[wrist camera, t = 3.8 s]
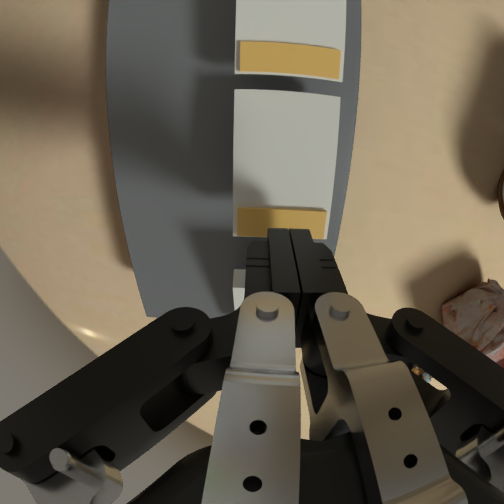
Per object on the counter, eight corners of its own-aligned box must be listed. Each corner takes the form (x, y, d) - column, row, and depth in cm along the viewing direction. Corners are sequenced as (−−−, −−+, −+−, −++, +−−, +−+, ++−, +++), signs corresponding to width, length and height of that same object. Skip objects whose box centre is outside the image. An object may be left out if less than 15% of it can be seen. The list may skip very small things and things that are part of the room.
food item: (429, 302, 23) (470, 382, 15) (488, 262, 21) (539, 329, 12) (444, 357, 29) (468, 416, 21) (489, 326, 26) (518, 381, 18)
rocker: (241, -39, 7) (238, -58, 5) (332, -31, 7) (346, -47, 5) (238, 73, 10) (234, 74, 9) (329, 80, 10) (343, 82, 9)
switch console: (136, -9, 10) (107, -26, 7) (338, -13, 10) (359, -35, 7) (157, 281, 22) (142, 316, 19) (310, 286, 22) (317, 323, 19)
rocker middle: (238, 93, 11) (234, 88, 9) (327, 99, 11) (341, 96, 9) (236, 218, 14) (232, 238, 12) (317, 221, 14) (327, 241, 12)
